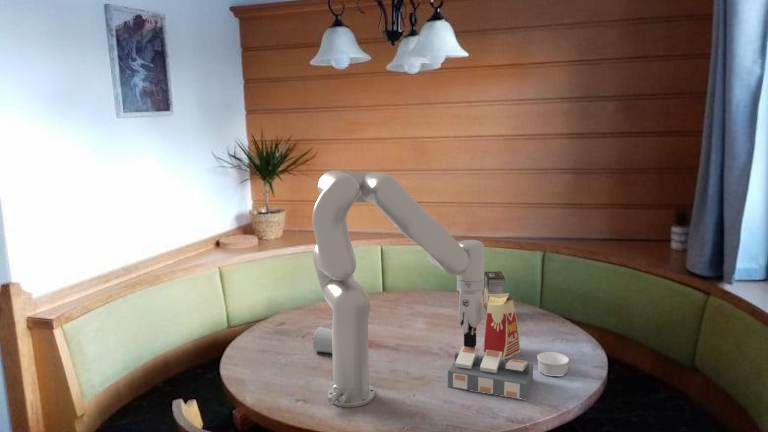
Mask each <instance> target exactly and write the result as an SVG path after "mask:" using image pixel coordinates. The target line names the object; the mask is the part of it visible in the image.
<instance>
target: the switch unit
mask: <svg viewBox="0 0 768 432" xmlns="http://www.w3.org/2000/svg"><path fill="white" fill-rule="evenodd" d="M458 355H459V352H455V354H454V362H453V363H452V365H451V366H450V368H449V369H448V370H447V387H448V388H451V387H452V388H451V389H456V388H457V389H458V390H462V389H464V390H463V391H467V390H473V391H479V392H485V393H490V394H497V395H503V396H507V397H514V398H522V399H525V398H526V399H527V397H528V394H529V392H528V390H529V391H530V389H529V388H531V386H532V383H533V381H532V379H533V380H534V363H527V365H526V368H525V369H524V370H523V371H519V370H513V369H506V363H508V362H509V361H510V360H511V359H506V360H503V359H501V361H500V364H499V367H498V370H497V373H492V372H486V371H480V365H481V363H482V360H483V357H484V355H478V354H477V355H476V357H475V360H474V363H473V365H472V368H471V369H467V368H461V367H455V362H456V360H457V357H458ZM531 382H532V383H531ZM530 385H531V386H530ZM473 391H472V392H473ZM479 392H478V393H479ZM527 393H528V394H527ZM490 394H489V395H490ZM526 396H527V397H526ZM507 397H506V398H507Z"/></svg>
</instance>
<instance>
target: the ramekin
mask: <svg viewBox="0 0 768 432" xmlns="http://www.w3.org/2000/svg"><path fill="white" fill-rule="evenodd" d="M536 357H537V364H538V365H537V366H538V368H537V369H538V371H539V372H540V371H541V372H542V373H545V374H549V375H562V374H565V373H566V372H567V373H568V368H569V367H568V366H569V363H570V358H569V357H568V356H567V355H565V354H563V353H560V352H555V351H545V352H540V353H539V354H537V356H536ZM542 373H541V374H542ZM567 373H566V374H567Z"/></svg>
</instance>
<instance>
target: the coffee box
mask: <svg viewBox="0 0 768 432" xmlns="http://www.w3.org/2000/svg"><path fill="white" fill-rule="evenodd" d="M505 287H506V278H505V276H504V274H503V272H502V271H500V270H499V271H484V290H483V314H484V315H486V316H487V308H488V302H489V297H490V296H489V295H488V294H505V290H506V289H505ZM486 316H485V317H486Z"/></svg>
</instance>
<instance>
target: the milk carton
mask: <svg viewBox="0 0 768 432" xmlns="http://www.w3.org/2000/svg"><path fill="white" fill-rule="evenodd" d="M488 295H489V296H490V297H489V302H488V308H487V316H485V327H484V337H483V338H484V339H483V351H482V353H483V355H485V352H486V350H494V351H500V352H502V358H501V359H503V360H505V359H506V358H508V357H510V356H512V355H514V354H516V353H517V354H519V353H520V352H521V344H520V336H519V335H520V334H519V333H520V332H519V327H518V321H517V314H516V309H515V304H514V303H515V302H514V299H513V298H511V297H509V295H510V292H506V293H504V294H488ZM519 351H520V352H519ZM518 352H519V353H518ZM517 354H516V355H517ZM514 356H515V355H514ZM512 357H513V356H512ZM510 358H511V357H510ZM508 359H509V358H508ZM506 360H507V359H506Z"/></svg>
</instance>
